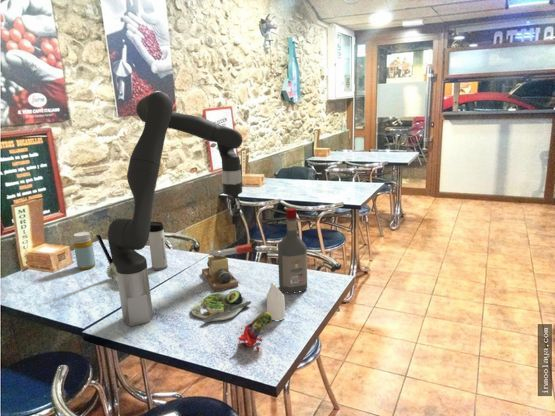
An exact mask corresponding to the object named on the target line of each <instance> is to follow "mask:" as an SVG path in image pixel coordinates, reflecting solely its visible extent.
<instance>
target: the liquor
mask: <svg viewBox="0 0 555 416" xmlns="http://www.w3.org/2000/svg"><path fill="white" fill-rule="evenodd" d="M297 214H298V213H297V208H296V207H288V208H286V209H285V215H286V232H285V233H286V235H285V236H284V237H283V238H282V239H281V240H280V241H279V243H278V245H277V259H278V263H277V264H278V265H277V266H278V283H279V284H278V285H279V287H280V289H281V288H282V289H281V290H282V291H283V293H284V292H288V293H294V292H299V291H304V290H305V289H306V290H307V288H308V249H307V248H308V247H307V245H306V243H305V242H304V241H303V240H302V239H301V238H300V236H299V235H298V230H297V229H298V228H297V217H298V216H297ZM306 290H305V291H306ZM305 291H304V292H305ZM288 293H287V294H288ZM294 294H295V293H294Z"/></svg>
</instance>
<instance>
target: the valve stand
mask: <svg viewBox="0 0 555 416" xmlns="http://www.w3.org/2000/svg"><path fill="white" fill-rule="evenodd" d="M207 259H208V260H207V263H206V265H207V267H206V268H201V274H202V276H203V277H204V278H205V280H206V281H207V283H208V285H210V287H211V288H212V290H213V292H219V291H223V289H224V290H227V289H233V288H237V287H239V281H238V280H237V279H236V278H235V277H234V275H233V274H232V273H231V272H230V269H229V258H227V257H226V255H225V256H221V257H219V258H215V257H214V255H212V256H208V257H207ZM232 287H233V288H232Z"/></svg>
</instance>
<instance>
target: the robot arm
mask: <svg viewBox="0 0 555 416" xmlns="http://www.w3.org/2000/svg"><path fill="white" fill-rule="evenodd" d="M173 108H174V107H173V102H172V99H171V98H170V96H169V95H168V94H167V93H165V92H163V91H155V92H152V93H150V94H148V95H146V96H145V97H143V98H141V99H140V100H139V101H138V102H137V104H136V114H137V116H138V118H139V119H140V120H141V121H142V122H144V125H143V126H144V127H143V131H142V133H141V135H140V137H139V139H138V140H137V142H136V144H135V146H134V148H133V150H132V153H131V155H130V158H129V162H128V167H127V168H128V169H127V173H126V180H127V184H128V187H129V189H130V192H131V194H132V197H133V200H134V207H133V216H132V218H116V219H114V220H112V221H111V223H110V224H109V226H108V229H107V241H108V246H109V250H110V251H109V252H110V257H111V258H112V261H113V264H114V265H115V267H116V272H117V279H118V283H117V285H118V293H119V299H120V306H121V312H122V313H121V314H122V321H123V323H124V324H125V325H128V326H129V327H134V326H138V325H142V324H146V323H150V322H151V320H152V318H153V317H154V311H153V303H152V297H151V286H150V278H149V271H148V262H147V258H146V257H145V256H144V255H143V254H140V253H139V252H138V251H139V250H142V249H143V248H145V247H146V246H147V243H148V242H149V233H150V224H151V222H152V213H153V204H154V203H153V202H154V197H155V191H156V186H157V181H158V177H159V172H160V167H161V160H162V155H163V150H164V144H165V139H166V134H167V131H168V129H171V130H175V131H179V132H183V133H185V134H189V135H191V136H195V137H197V138H199V139H202V140H205V141H208V142H212V143H216V145H217V149H218V153H219V157H220V159H221V167H222V169H221V172H222V174H221V180H222V192H223V194H224V195H227V197H226V198H225V202H226V206H227V209H228V212H229V214H230V218H231V219H230V220H231V221H230V222H231V224H232V225H237V224H238V223H239V221H238V216H239V215H240V213H241V210H242V203H240V198H239V195H240V194H242V192H243V181H242V171H241V160H240V156H239V155H238V154H237V153H236V152H235V149H238V148H239V147H241V146H242V144H243V136H242V134H241V133H240V132H239V131H238V130H236V129H234V128H231V127H227V126H224V125H220V124H218V123H215V121H214V122H213V121H211V120H209V119H206V118H205V117H200V116H197V115H191V114H184V113H180V112H176V111H173Z"/></svg>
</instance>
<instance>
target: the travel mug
mask: <svg viewBox="0 0 555 416" xmlns="http://www.w3.org/2000/svg"><path fill="white" fill-rule="evenodd" d="M164 231H165V229H164V223H162V222H160V221H151V224H150V233H149V238H148V244H149V251H150V253H149V254H150V261H151V269H152V270H154V271H163V270H165V269H167V268H168V259H167V257H168V256H167V249H166V240H165V232H164Z"/></svg>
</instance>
